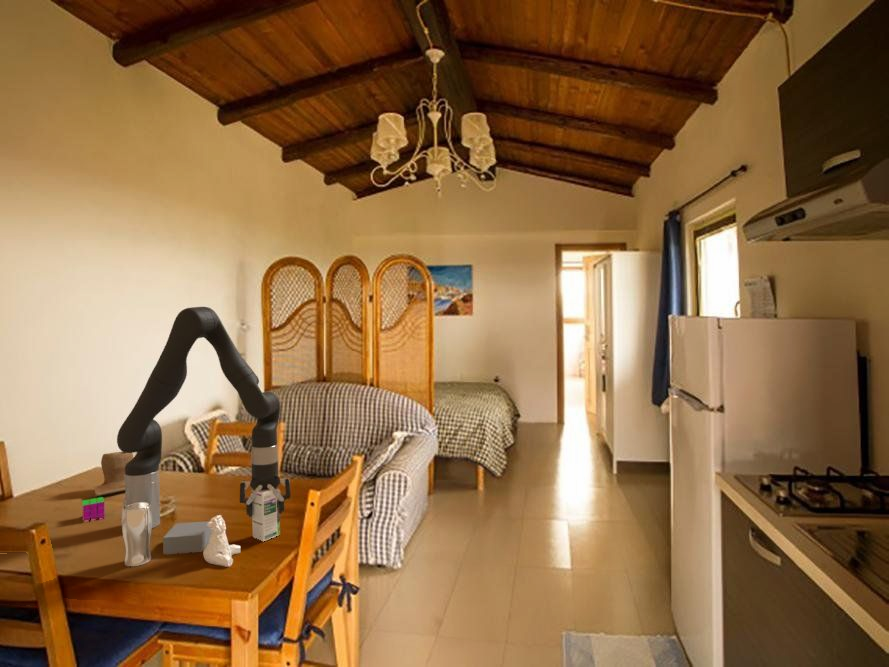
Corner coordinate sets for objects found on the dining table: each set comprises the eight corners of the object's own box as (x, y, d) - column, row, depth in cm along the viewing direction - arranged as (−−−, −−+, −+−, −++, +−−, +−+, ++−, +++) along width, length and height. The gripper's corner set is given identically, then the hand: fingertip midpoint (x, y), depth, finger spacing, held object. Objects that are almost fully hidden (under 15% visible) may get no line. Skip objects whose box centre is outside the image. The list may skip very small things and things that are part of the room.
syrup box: (263, 542, 148) (262, 492, 147) (251, 537, 151) (251, 488, 151) (280, 535, 152) (279, 487, 152) (268, 530, 156) (268, 483, 155)
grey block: (163, 555, 141) (163, 537, 140) (176, 540, 150) (176, 523, 150) (202, 552, 142) (201, 535, 142) (212, 537, 152) (212, 521, 152)
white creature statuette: (230, 567, 133) (229, 522, 132) (196, 569, 132) (195, 523, 132) (242, 551, 142) (241, 508, 142) (210, 552, 141) (209, 510, 141)
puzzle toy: (103, 513, 171) (102, 496, 171) (104, 518, 167) (104, 501, 167) (82, 518, 168) (81, 500, 168) (83, 523, 163) (82, 505, 163)
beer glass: (131, 555, 140) (129, 501, 139) (157, 554, 140) (156, 500, 140) (117, 568, 133) (115, 511, 132) (145, 566, 133) (143, 510, 133)
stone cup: (131, 483, 203) (130, 446, 203) (142, 489, 195) (141, 450, 195) (86, 493, 192) (85, 453, 191) (96, 500, 184) (95, 459, 183)
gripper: (237, 465, 146) (238, 521, 146) (289, 461, 149) (290, 516, 150) (240, 458, 153) (241, 512, 153) (290, 455, 157) (291, 507, 157)
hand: (265, 514), depth 152 cm, fingers closed on syrup box, 8 cm apart
